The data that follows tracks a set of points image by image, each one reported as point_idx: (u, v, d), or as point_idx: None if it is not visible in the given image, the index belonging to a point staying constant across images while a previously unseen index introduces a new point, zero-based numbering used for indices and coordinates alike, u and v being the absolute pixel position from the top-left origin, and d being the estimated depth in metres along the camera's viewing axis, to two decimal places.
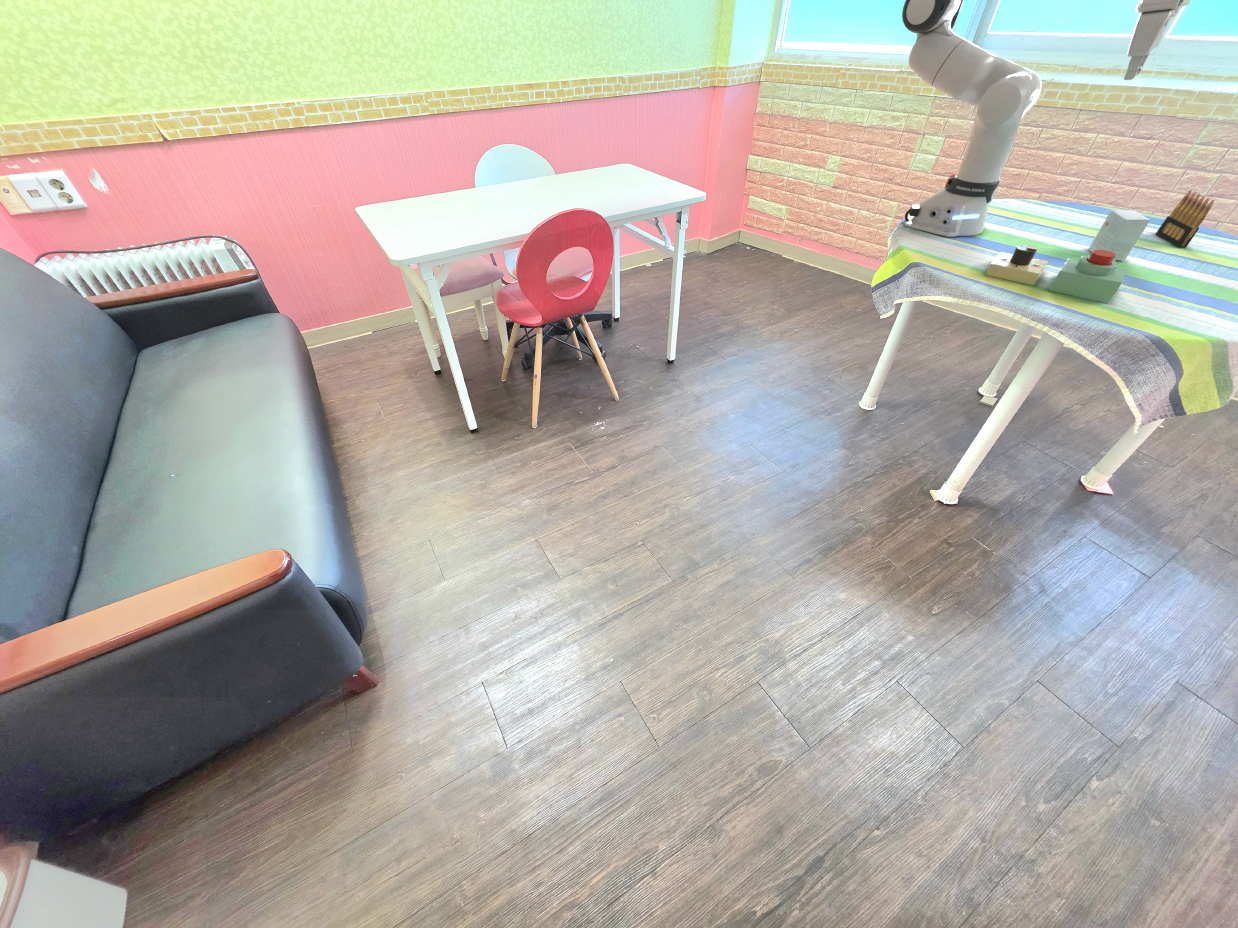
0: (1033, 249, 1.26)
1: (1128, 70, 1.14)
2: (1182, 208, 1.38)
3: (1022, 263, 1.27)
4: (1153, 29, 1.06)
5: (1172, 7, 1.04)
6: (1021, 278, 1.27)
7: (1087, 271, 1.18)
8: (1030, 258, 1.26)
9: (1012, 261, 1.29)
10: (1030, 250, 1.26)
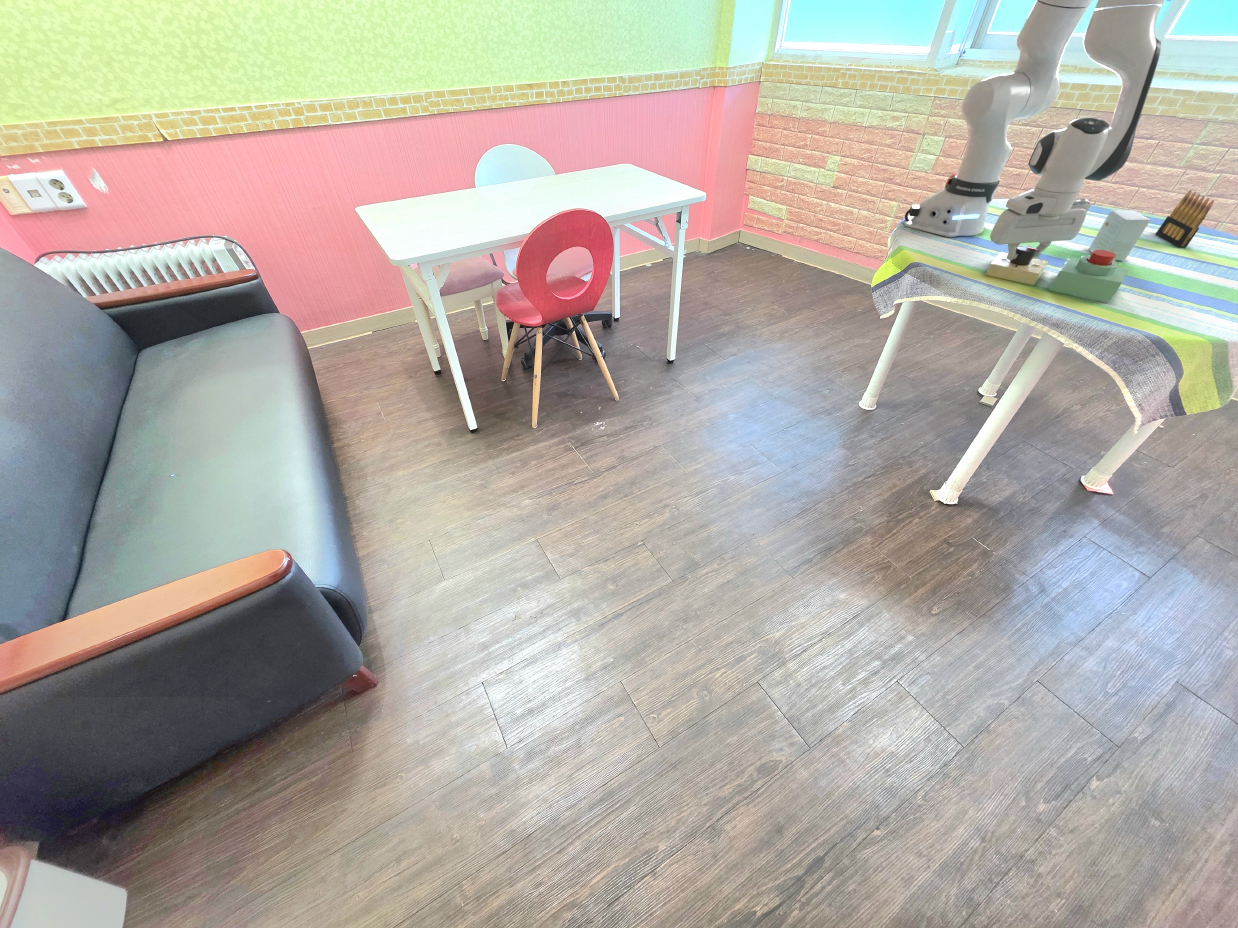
0: (1033, 249, 1.26)
1: (1009, 251, 1.28)
2: (1182, 208, 1.38)
3: (1022, 263, 1.27)
4: (1003, 225, 1.22)
5: (1019, 212, 1.18)
6: (1021, 278, 1.27)
7: (1087, 271, 1.18)
8: (1030, 258, 1.26)
9: (1012, 261, 1.29)
10: (1030, 250, 1.26)
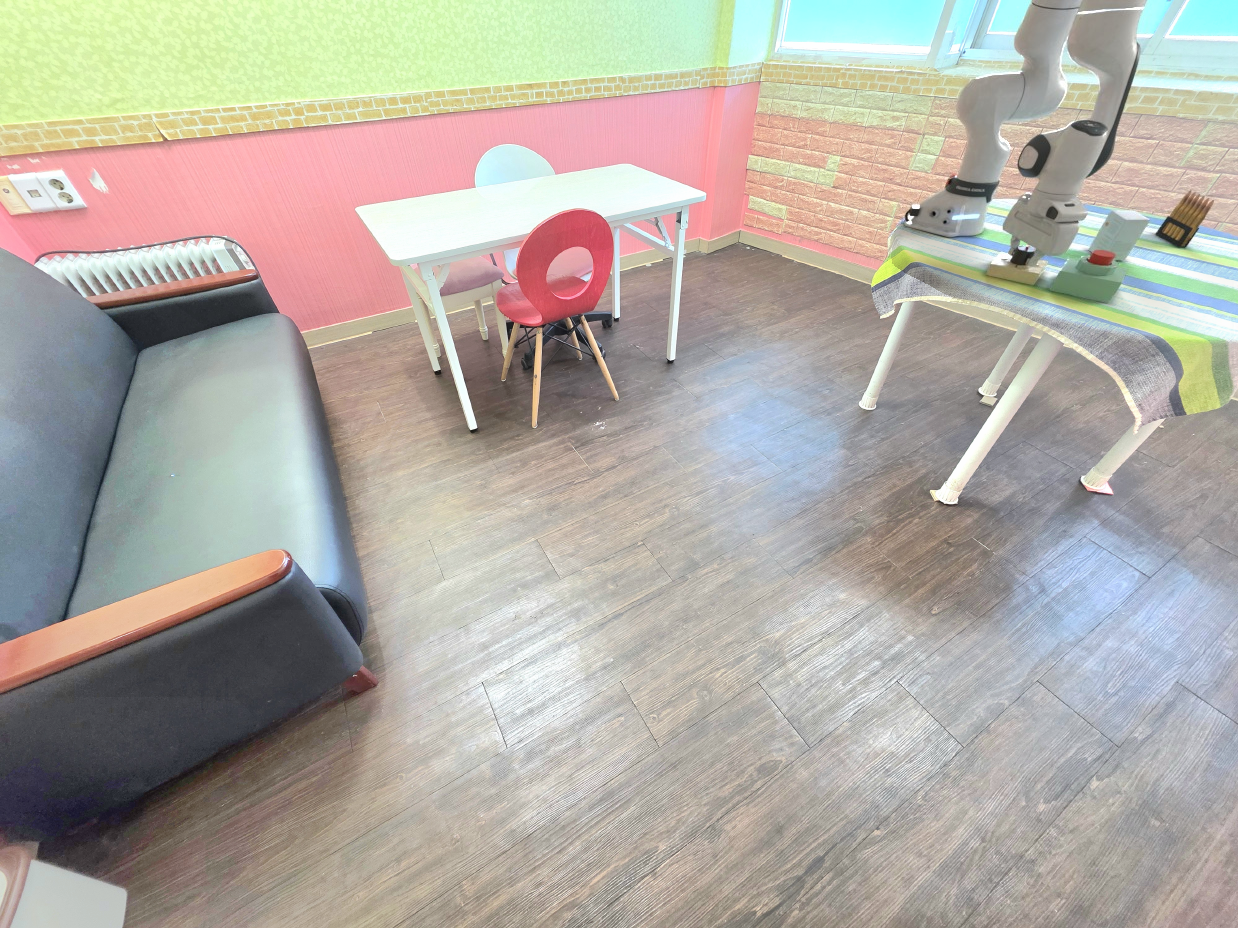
0: (1029, 246, 1.27)
1: (1032, 260, 1.24)
2: (1182, 208, 1.38)
3: None
4: (1070, 237, 1.15)
5: (1081, 220, 1.14)
6: (1021, 278, 1.27)
7: (1087, 271, 1.18)
8: None
9: None
10: (1031, 247, 1.27)
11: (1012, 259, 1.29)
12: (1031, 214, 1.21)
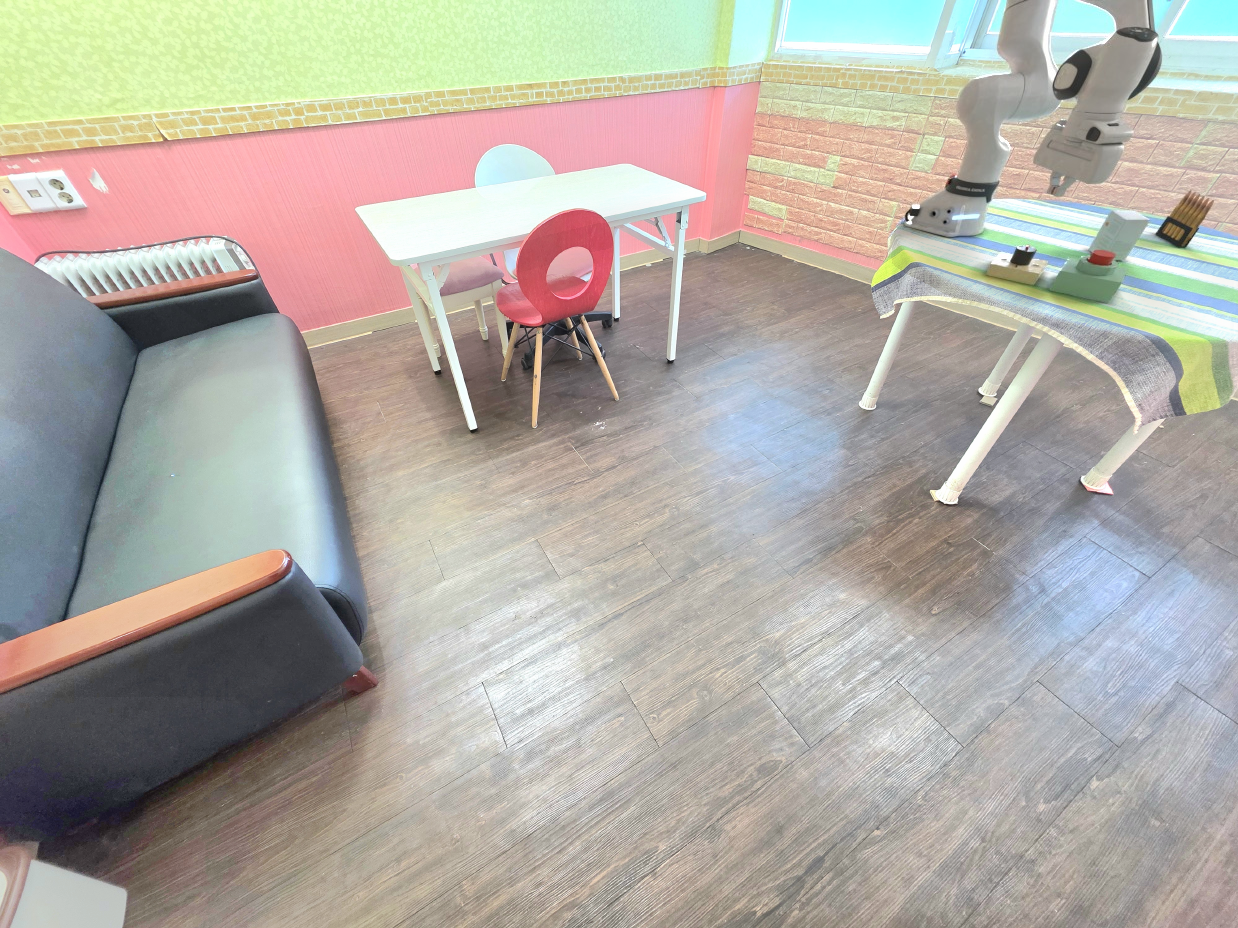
0: (1029, 246, 1.27)
1: (1060, 188, 1.15)
2: (1182, 208, 1.38)
3: None
4: (1114, 161, 1.05)
5: (1126, 141, 1.03)
6: (1021, 278, 1.27)
7: (1087, 271, 1.18)
8: None
9: (1026, 264, 1.27)
10: (1031, 247, 1.27)
11: (1012, 259, 1.29)
12: (1068, 140, 1.10)
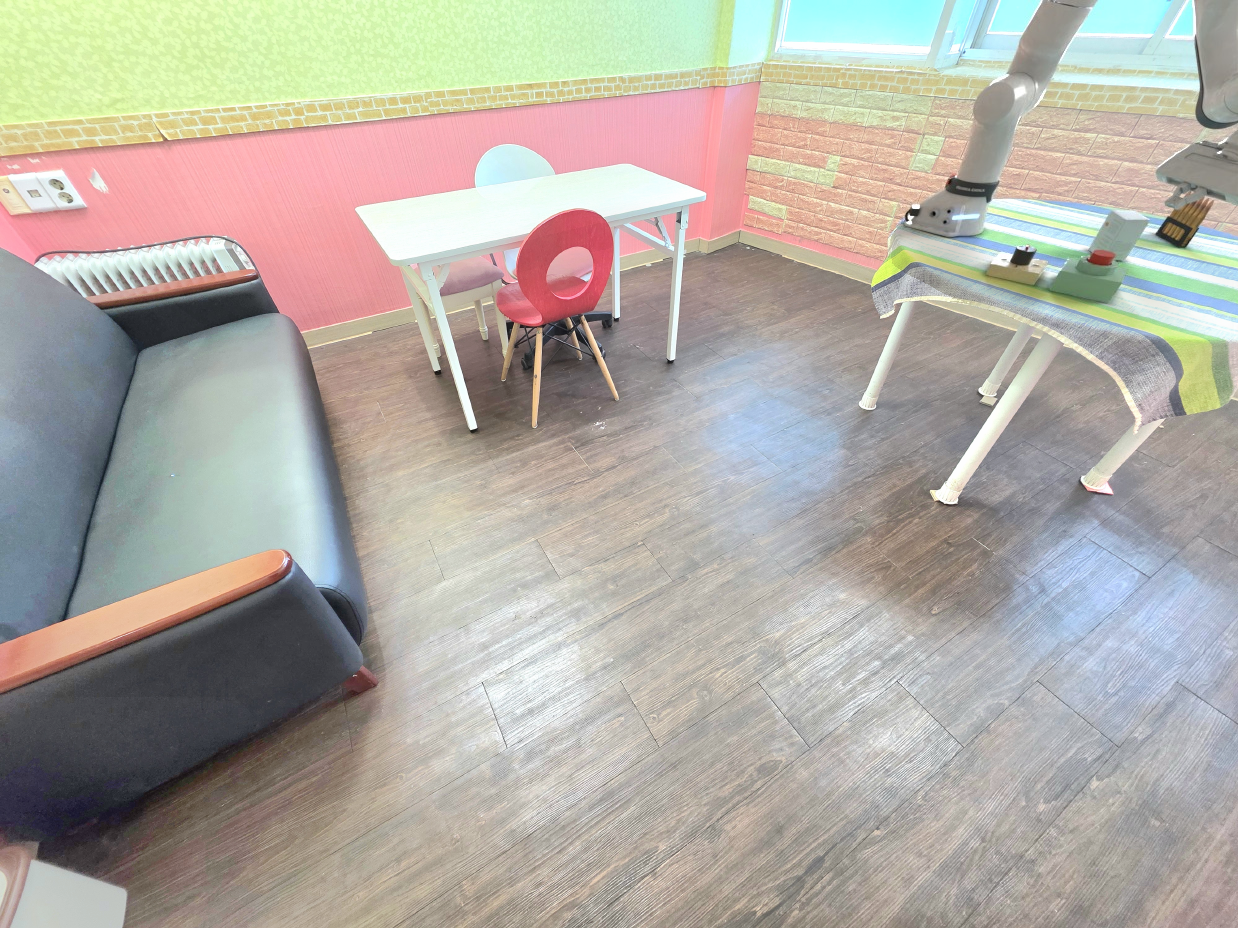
0: (1029, 246, 1.27)
1: (1186, 199, 1.09)
2: (1182, 208, 1.38)
3: None
4: None
5: None
6: (1021, 278, 1.27)
7: (1087, 271, 1.18)
8: None
9: (1026, 264, 1.27)
10: (1031, 247, 1.27)
11: (1012, 259, 1.29)
12: (1228, 150, 1.05)
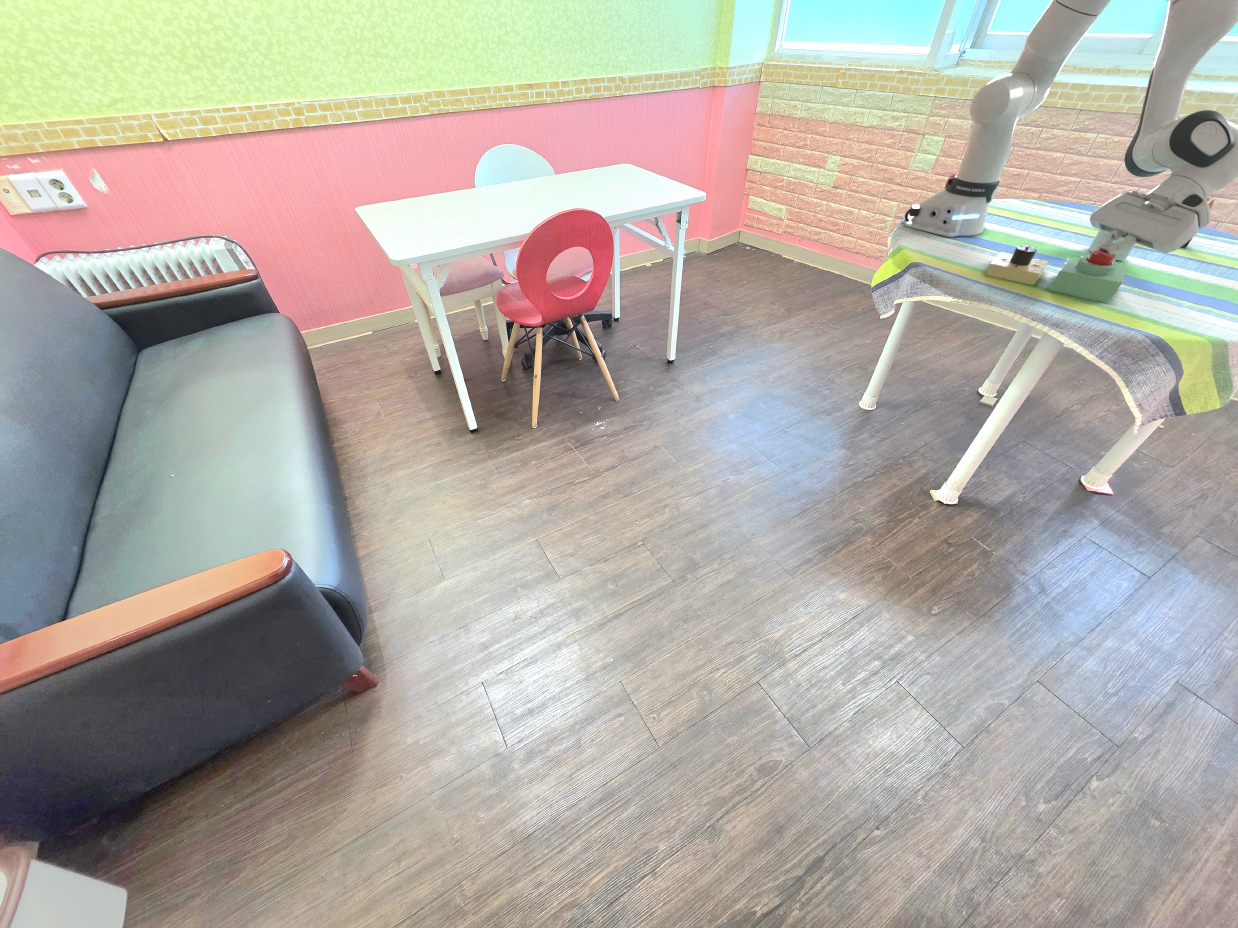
0: (1029, 246, 1.27)
1: (1117, 245, 1.14)
2: None
3: None
4: (1190, 236, 1.06)
5: (1201, 226, 1.06)
6: (1021, 278, 1.27)
7: (1087, 271, 1.18)
8: None
9: (1026, 264, 1.27)
10: (1031, 247, 1.27)
11: (1012, 259, 1.29)
12: (1154, 201, 1.10)
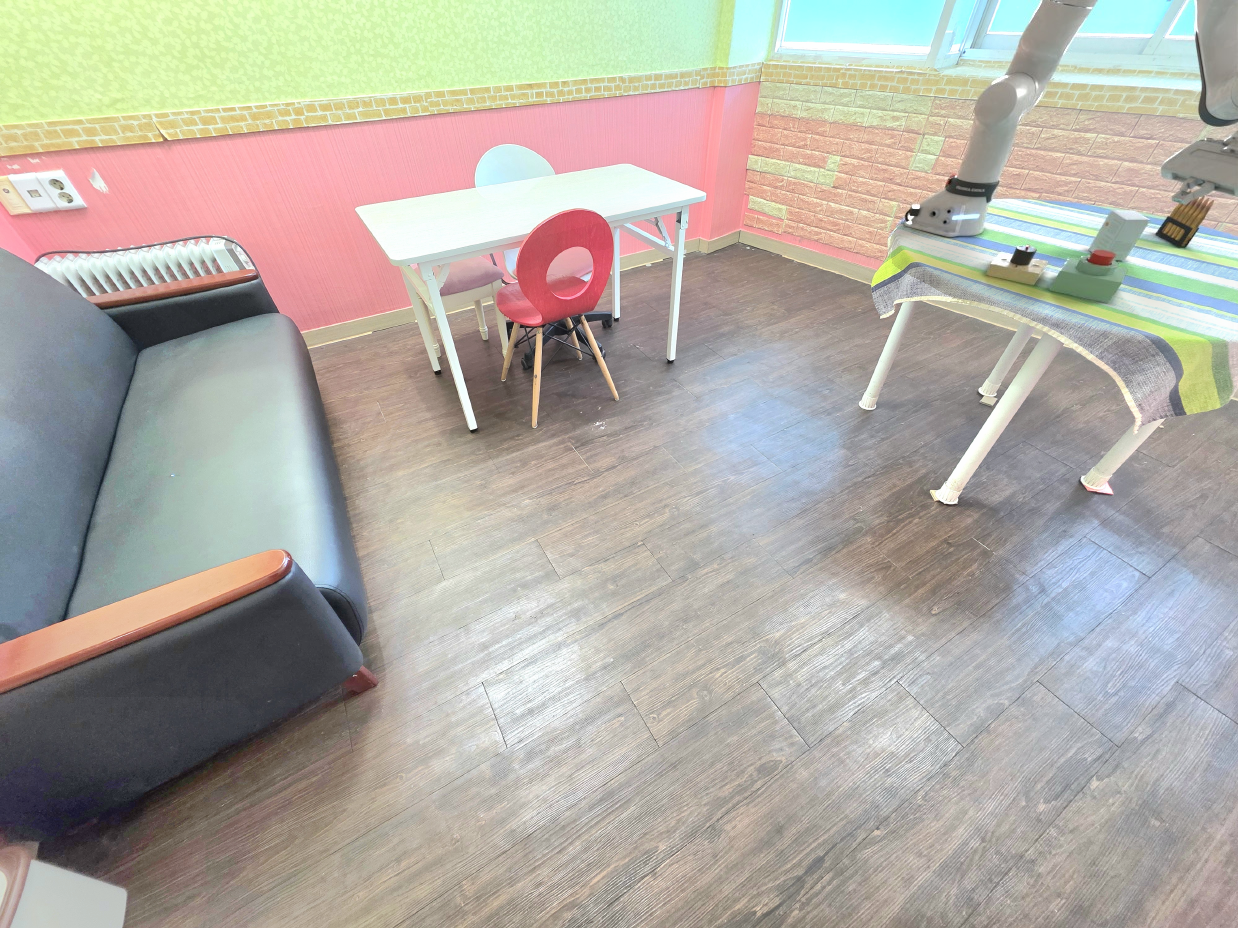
0: (1029, 246, 1.27)
1: (1193, 193, 1.09)
2: (1182, 208, 1.38)
3: None
4: None
5: None
6: (1021, 278, 1.27)
7: (1087, 271, 1.18)
8: None
9: (1026, 264, 1.27)
10: (1031, 247, 1.27)
11: (1012, 259, 1.29)
12: (1236, 145, 1.04)
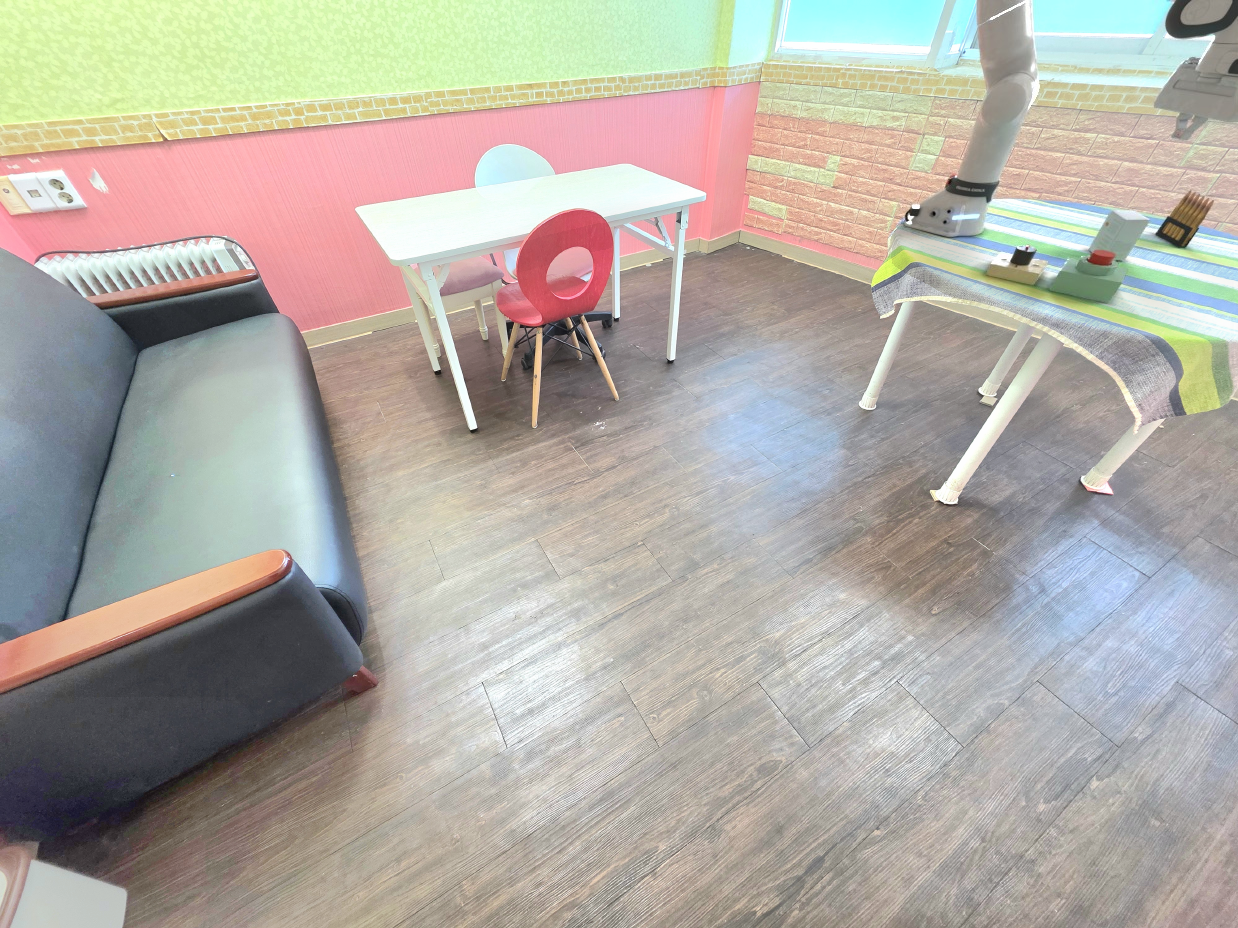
0: (1029, 246, 1.27)
1: (1188, 131, 1.09)
2: (1182, 208, 1.38)
3: None
4: None
5: None
6: (1021, 278, 1.27)
7: (1087, 271, 1.18)
8: None
9: (1026, 264, 1.27)
10: (1031, 247, 1.27)
11: (1012, 259, 1.29)
12: (1203, 76, 1.04)
